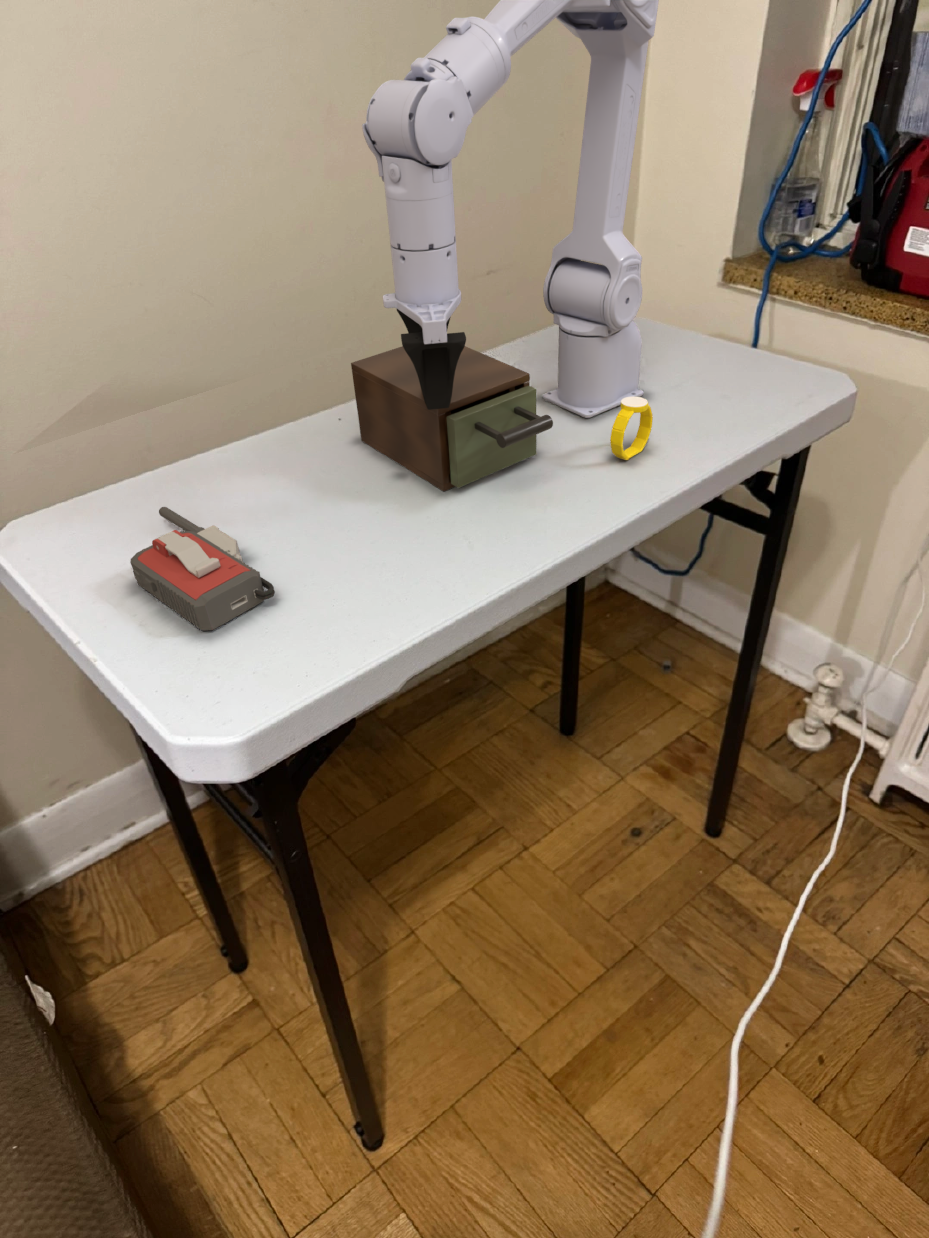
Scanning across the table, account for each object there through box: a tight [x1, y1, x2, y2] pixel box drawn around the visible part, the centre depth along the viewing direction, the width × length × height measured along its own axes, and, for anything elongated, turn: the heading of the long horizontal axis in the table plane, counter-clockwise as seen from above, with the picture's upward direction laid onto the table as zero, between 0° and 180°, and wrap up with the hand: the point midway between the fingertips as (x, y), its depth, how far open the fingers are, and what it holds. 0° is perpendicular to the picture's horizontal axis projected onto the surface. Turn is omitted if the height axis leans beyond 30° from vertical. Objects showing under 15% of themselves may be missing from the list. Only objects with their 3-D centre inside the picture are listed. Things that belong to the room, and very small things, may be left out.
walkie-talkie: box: [129, 506, 276, 631], centre depth 77 cm, size 9×4×20 cm
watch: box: [609, 396, 654, 461], centre depth 90 cm, size 6×3×6 cm, turn 139°
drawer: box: [445, 385, 554, 489], centre depth 89 cm, size 19×10×7 cm, turn 38°
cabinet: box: [350, 345, 531, 492], centre depth 92 cm, size 16×12×9 cm
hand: (434, 390), depth 83 cm, fingers open, 7 cm apart
